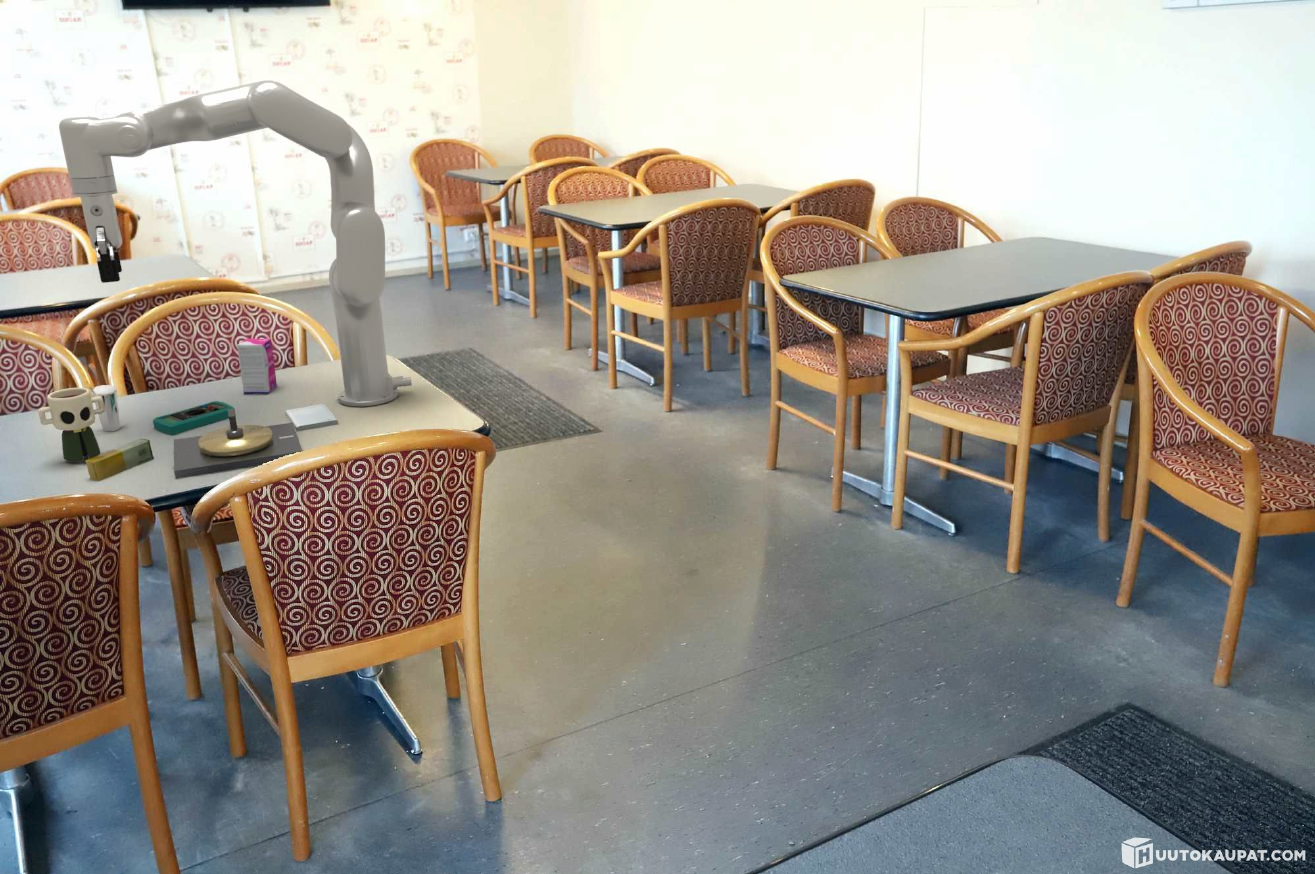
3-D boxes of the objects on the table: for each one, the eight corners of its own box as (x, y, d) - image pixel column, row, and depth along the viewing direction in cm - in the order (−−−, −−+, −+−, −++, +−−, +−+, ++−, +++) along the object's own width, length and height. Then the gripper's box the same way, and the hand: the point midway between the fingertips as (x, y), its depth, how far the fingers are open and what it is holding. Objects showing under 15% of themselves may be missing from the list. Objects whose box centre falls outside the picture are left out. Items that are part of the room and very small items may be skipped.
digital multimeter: (239, 417, 222) (236, 404, 221) (172, 438, 211) (169, 424, 210) (219, 411, 226) (217, 398, 225) (153, 431, 215) (150, 417, 214)
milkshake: (91, 433, 214) (80, 385, 210) (112, 424, 218) (102, 378, 215) (108, 435, 212) (98, 387, 209) (129, 426, 217) (119, 379, 213)
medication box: (145, 457, 200) (140, 437, 199) (155, 459, 199) (150, 439, 198) (89, 480, 190) (84, 459, 189) (99, 482, 189) (94, 461, 188)
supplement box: (269, 394, 236) (261, 344, 232) (243, 394, 236) (235, 345, 232) (278, 386, 241) (271, 337, 237) (252, 387, 241) (245, 338, 237)
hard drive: (337, 419, 215) (324, 402, 225) (296, 426, 211) (284, 409, 222) (339, 427, 216) (325, 410, 226) (297, 434, 212) (285, 417, 222)
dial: (269, 428, 209) (266, 404, 207) (275, 449, 197) (271, 423, 196) (198, 438, 204) (194, 413, 202) (200, 460, 193) (195, 434, 191)
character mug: (55, 471, 194) (39, 404, 190) (46, 461, 199) (30, 395, 195) (119, 456, 201) (105, 391, 196) (108, 446, 206) (95, 382, 201)
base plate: (293, 429, 213) (292, 421, 212) (303, 458, 197) (302, 450, 197) (175, 446, 205) (173, 438, 204) (175, 478, 189) (173, 469, 189)
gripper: (114, 190, 192) (132, 283, 198) (118, 180, 207) (134, 267, 213) (67, 193, 189) (87, 287, 195) (74, 183, 204) (93, 271, 210)
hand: (112, 277), depth 204 cm, fingers open, 9 cm apart
